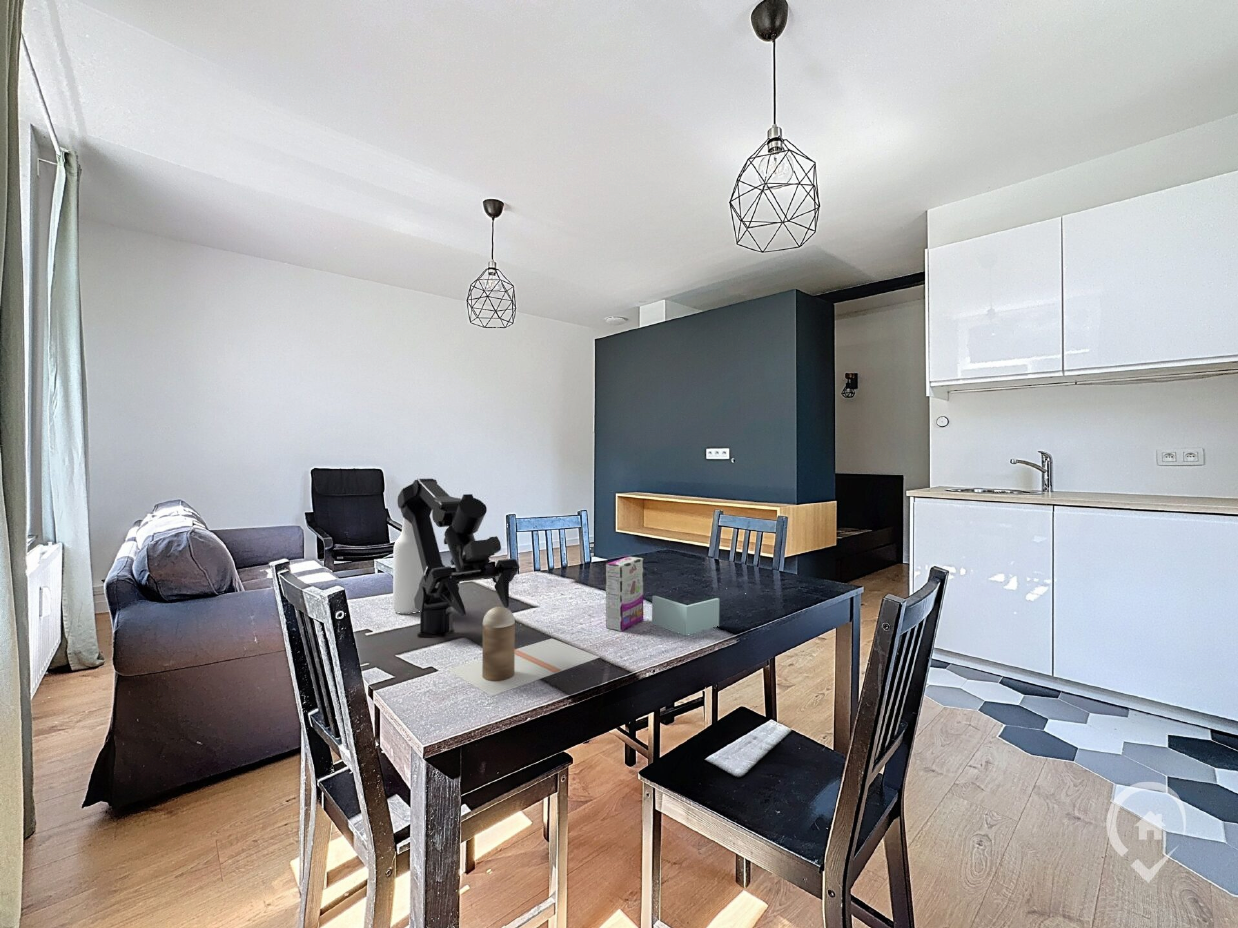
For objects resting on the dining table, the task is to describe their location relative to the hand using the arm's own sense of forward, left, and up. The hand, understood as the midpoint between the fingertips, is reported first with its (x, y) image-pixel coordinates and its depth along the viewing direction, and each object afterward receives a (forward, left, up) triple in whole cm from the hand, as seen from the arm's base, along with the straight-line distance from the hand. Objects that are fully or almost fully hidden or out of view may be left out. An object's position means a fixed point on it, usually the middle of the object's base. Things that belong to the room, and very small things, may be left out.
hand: (486, 610), depth 107 cm
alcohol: (-32, +39, -12) cm, 52 cm away
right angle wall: (+42, +32, -13) cm, 54 cm away
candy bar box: (+27, +31, -12) cm, 43 cm away
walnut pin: (+4, -4, -11) cm, 12 cm away
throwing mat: (+8, +2, -12) cm, 14 cm away
